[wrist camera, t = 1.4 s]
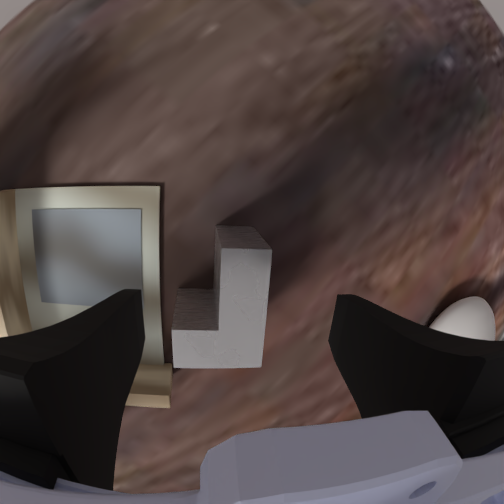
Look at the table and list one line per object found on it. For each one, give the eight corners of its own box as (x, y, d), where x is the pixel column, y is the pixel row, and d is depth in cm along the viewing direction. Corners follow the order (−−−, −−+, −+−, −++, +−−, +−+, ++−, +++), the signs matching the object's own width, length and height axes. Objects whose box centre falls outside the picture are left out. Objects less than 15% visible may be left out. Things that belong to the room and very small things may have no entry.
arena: (172, 375, 24) (170, 408, 20) (31, 361, 22) (13, 387, 18) (169, 186, 20) (162, 191, 16) (5, 189, 18) (-26, 196, 14)
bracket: (246, 320, 23) (261, 367, 18) (178, 319, 23) (173, 367, 17) (253, 226, 22) (272, 249, 16) (178, 224, 21) (170, 246, 15)
